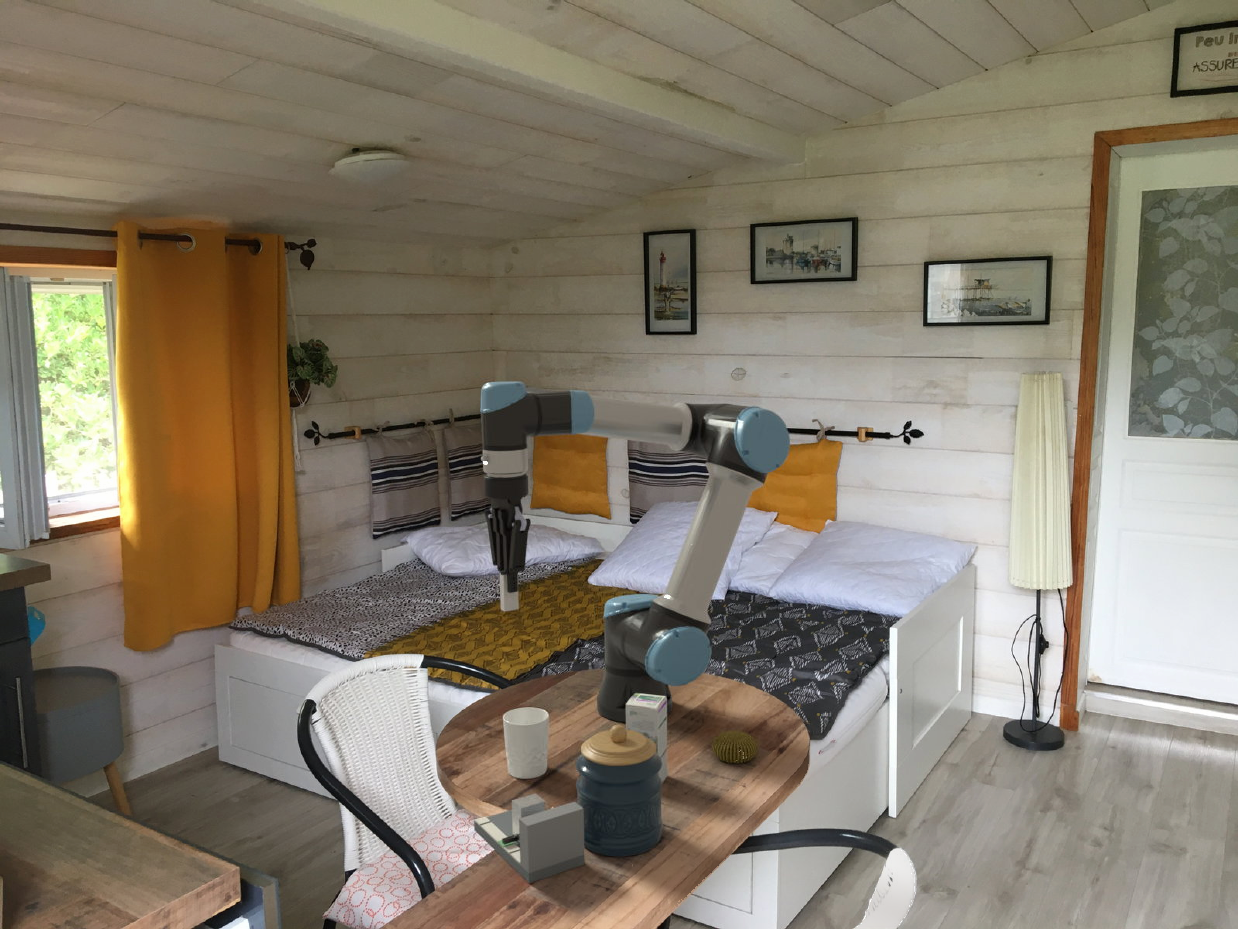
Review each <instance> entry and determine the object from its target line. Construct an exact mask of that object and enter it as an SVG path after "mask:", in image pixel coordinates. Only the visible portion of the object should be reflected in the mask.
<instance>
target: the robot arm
mask: <svg viewBox="0 0 1238 929" xmlns="http://www.w3.org/2000/svg"><path fill="white" fill-rule="evenodd" d="M480 392H481V393H480V409H479V412H480V419H481V422H480V423H481V440H482V441H481V442H482V456H481V457H480V460H481V461H482V466H483V468H482V470H483V473H485V475H484V476H483V478H482V480H483V483H482V484H483V496H484V497H485V498H486V499H489V500H491V503H490V506H491V507H490V508H489V509H484V517H485V520H486V523H487V530H488V531H487V532H488V538H489V545H490V552H491V562H492V566H496V569H497V572H499V591H500V592H499V596H500V611H503V612H510V611H517V610H519V609H520V607H519V606H520V605H519V604H520V603H519V602H520V600H519V573H520V572H525V569H526V558H527V550H528V549H527V547H528V537H529V530H530V527H531V518H530V517H529V518H525V516H523V512H524V511H523V506H522V504H523V503H522V499H523V498H525V497H527V496H528V495H529V476H528V475H527V473H526V472H528V470H529V461H528V458H529V455H528V454H529V453H528V438H529V437H531V438H533V437H534V438H535V437H542V436H543V437H545V436H562V435H563V436H564V435H565V436H566V435H570V436H573V435H576V434H577V435H582V436H583V435H584V436H592V437H593V436H594V437H600V438H601V437H602V438H609V439H617V440H625V441H634V442H642V443H643V442H644V443H649V444H650V443H651V444H658V445H659V444H660V445H665V446H666V445H667V446H668V447H669V448H670V450H672V451H675V452H680V453H681V452H683V453H688V454H691V455H695V456H698V457H702V458H703V459H706V461H705V466H706V470H707V472H708V478H707V482H706V483H705V486H704V490H703V491H702V495H701V498H700V500H699V502H698V505H697V507H696V510H695V513H694V516H693V518H692V521H691V523H690V525H689V529H688V531H687V534H686V537H685V539H684V542H683V544H682V547H681V550H680V551H679V555H678V557H677V560H676V562H675V565H674V567H673V570H672V572H671V575H670V578H669V581H668V583H667V586H666V588H665V590H664V593H663V594H662V595H656V594H652V593H651V594H650V593H649V594H648V593H640V594H639V593H637V594H626V595H619V596H615V597H612V598H610V599H608V600H607V601H606V602H605V603H604V608H603V609H604V610H603V630H604V631H603V632H604V635H603V636H604V638H603V639H604V640H603V641H604V674H603V678H602V681H601V684H600V687H599V691H598V694H597V696H596V710H597V713H598V714H599V715H601V716H602V717H604V718H605V719H607V720H612V721H617V722H622V723H626V703H627V702H628V701H629V699H630V698H631V697H632V696H633V695H634V694H635V693H640V694H650V695H659V696H666V698H667V716H668V715H669V714H671V712H672V710H673V696H672V692H671V690H670V687H671V686H672V687H682V686H685V685H688V684H690V683H691V682H694V681H696V680H697V679H698V678H700V677H701V675H703V674H704V672H705V670H706V669H707V667H708V666H709V664H710V661H711V657H712V646H711V645H710V644H711V643H710V642H711V641H710V639H709V638H708V632H709V629H710V627H711V624H712V620H711V617H710V615H709V612H708V609H709V607H710V605H711V601H712V599H713V595H714V594H715V590H716V588H717V586H718V584H719V580H720V577H721V575H722V573H723V570H724V568H725V564H726V563H727V560H728V556H729V554H730V552H731V549H732V547H733V544H734V541H735V538H736V536H737V532H738V531H739V527H740V525H741V522H742V520H743V517H744V514H745V512H746V509H747V507H748V504H749V501H750V499H751V496H752V494H753V492H754V491H756V490H758V489H760V488H762V487H764V485H765V482H766V479H767V477H768V474H769V473H771V472H775V471H776V469H778V468H780V467H781V466H782V465H783V464H784V463H785V462H786V460H787V458H788V455H789V452H790V447H791V438H790V433H789V431H788V428H787V425H786V423H785V421H784V420H783V418H782V417H780V415H779V414H777V413H776V412H774V411H773V410H770V409H766V408H763V407H760V406H757V405H756V406H755V405H753V406H747V405H739V404H731V403H689V402H688V403H687V402H678V403H676V404H673V406H671V405H665V404H656V403H650V402H642V401H635V400H629V399H628V400H627V399H621V398H620V399H619V398H614V397H605V396H599V395H591V394H590V393H588V392H587V391H585V390H573V389H569V390H553V389H547V388H540V387H533V386H530V385H526V384H525V383H524V382H522V381H516V380H515V381H491V382H489V381H488V382H487V383H486V382H485V384H483V385H482V387H481V390H480ZM669 686H670V687H669Z"/></svg>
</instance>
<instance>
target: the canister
mask: <svg viewBox="0 0 1238 929" xmlns="http://www.w3.org/2000/svg"><path fill="white" fill-rule="evenodd" d="M580 752H581V754H580V755H579V756H578V757H577V759H576V760H575V769H576V770H577V772H578V774H579V775H578V778H577V780H576V782H575V788H576V790H577V791H576V792H577V793H576V794H577V795H576V796H577V801H576V802H577V804H578V805H580V806H581V807H582V808H584V848H585V849H587V850H589V851H590V852H592V853H596V854H598V855H602V856H606V857H607V856H608V857H631V856H636V855H640V854H643V853H646V852H647V851H648V852H649V851H650V850H651V849H653V848H655V846H656V845H658V843H659V842H660V841H661V837H662V832H663V828H664V827H663V822H664V820H663V817H662V788H663V783H662V780H661V778H660V777H659V771H660V769H661V767H662V760H661V758H660V757H659V755H658V754H657V753H655V752H656V745H655V743H654V742H653V741H652V740H651V739H649V738H647V737H645V736H644V735H643V734H641V733H639V732H636V731H633V730H626V726H624V725H622V724H615V725H612V727H611V728H610V729H606V730H603V731H600V732H598V733H597V732H596V734H594V735H593V736H591V737H590V738H588V739H586V740H585V741H584V742H583V743H582V744H581V747H580Z"/></svg>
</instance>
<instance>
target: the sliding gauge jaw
mask: <svg viewBox="0 0 1238 929" xmlns="http://www.w3.org/2000/svg"><path fill="white" fill-rule="evenodd" d="M511 810H512V827H513V835H512V836H509V837H506V838H503V839H502V843H503V844H504V845H505V844H508V843H511V842H514V841H518V842H519V843H520V833H519V819H520V818H523V817H526V816H530V815H533V814H536V813H539V812H543V811H546V801H545V799H543V798H542V797H541V796H540V795H538V794H537V793H533V794H529V795H526V796H523V797H519V798H515V799H513V800H511Z"/></svg>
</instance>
